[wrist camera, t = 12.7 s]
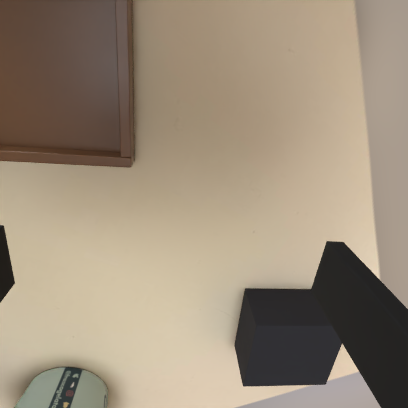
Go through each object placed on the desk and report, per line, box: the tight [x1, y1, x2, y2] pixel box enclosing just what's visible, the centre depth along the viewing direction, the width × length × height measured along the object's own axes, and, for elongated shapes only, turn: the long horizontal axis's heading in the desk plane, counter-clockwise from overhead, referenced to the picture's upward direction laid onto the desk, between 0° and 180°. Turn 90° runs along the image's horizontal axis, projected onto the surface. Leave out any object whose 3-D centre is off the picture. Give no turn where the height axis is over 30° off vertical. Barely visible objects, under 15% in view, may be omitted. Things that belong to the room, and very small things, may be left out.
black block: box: [235, 289, 342, 386], centre depth 31 cm, size 9×8×5 cm
